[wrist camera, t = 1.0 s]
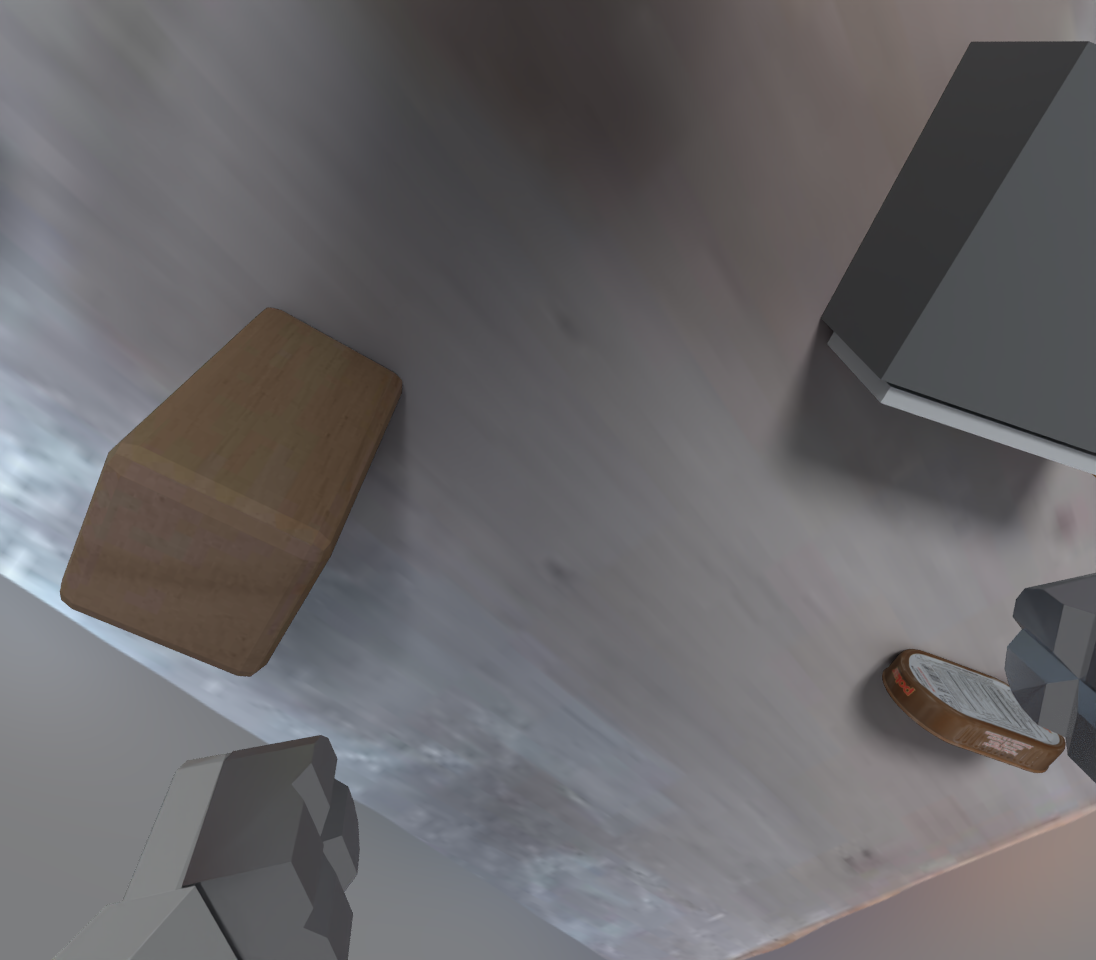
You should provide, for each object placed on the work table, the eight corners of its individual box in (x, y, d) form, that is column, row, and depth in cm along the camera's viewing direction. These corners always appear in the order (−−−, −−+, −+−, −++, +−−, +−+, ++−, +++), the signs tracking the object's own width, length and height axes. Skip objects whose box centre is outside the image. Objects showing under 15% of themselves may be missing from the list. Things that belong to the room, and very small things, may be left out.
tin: (865, 656, 62) (906, 737, 55) (888, 630, 61) (933, 710, 53) (1006, 706, 65) (1063, 789, 58) (1032, 683, 63) (1093, 765, 56)
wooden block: (349, 483, 53) (252, 691, 36) (216, 416, 51) (44, 607, 34) (411, 375, 49) (333, 554, 32) (269, 296, 46) (102, 445, 29)
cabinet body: (971, 41, 39) (1088, 41, 30) (1229, 153, 42) (1404, 182, 33) (820, 318, 47) (880, 379, 38) (1046, 397, 50) (1150, 471, 41)
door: (835, 329, 47) (890, 386, 39) (1076, 414, 50) (1173, 482, 42) (822, 352, 47) (874, 412, 40) (1061, 434, 50) (1152, 505, 43)
